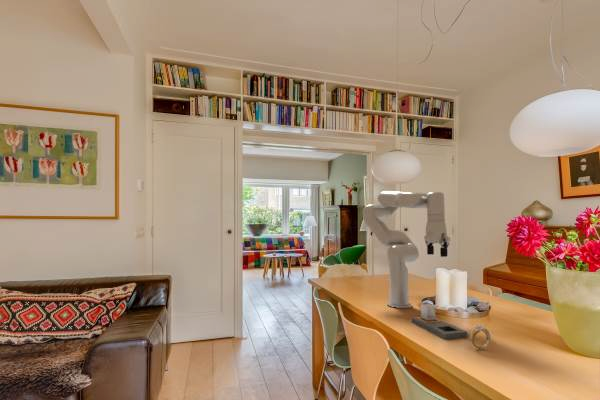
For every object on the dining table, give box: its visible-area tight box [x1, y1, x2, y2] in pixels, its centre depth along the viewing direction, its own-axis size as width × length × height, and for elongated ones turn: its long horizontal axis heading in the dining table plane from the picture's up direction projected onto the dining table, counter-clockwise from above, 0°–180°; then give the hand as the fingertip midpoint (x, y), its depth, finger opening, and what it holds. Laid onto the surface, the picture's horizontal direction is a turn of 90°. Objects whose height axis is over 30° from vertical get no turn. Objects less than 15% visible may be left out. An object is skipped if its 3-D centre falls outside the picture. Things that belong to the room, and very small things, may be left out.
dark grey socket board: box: [411, 316, 468, 341], centre depth 137 cm, size 22×10×2 cm, turn 14°
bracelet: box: [469, 324, 491, 350], centre depth 117 cm, size 7×3×8 cm, turn 94°
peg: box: [420, 304, 436, 322], centre depth 144 cm, size 4×4×8 cm
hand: (437, 255), depth 155 cm, fingers open, 9 cm apart
